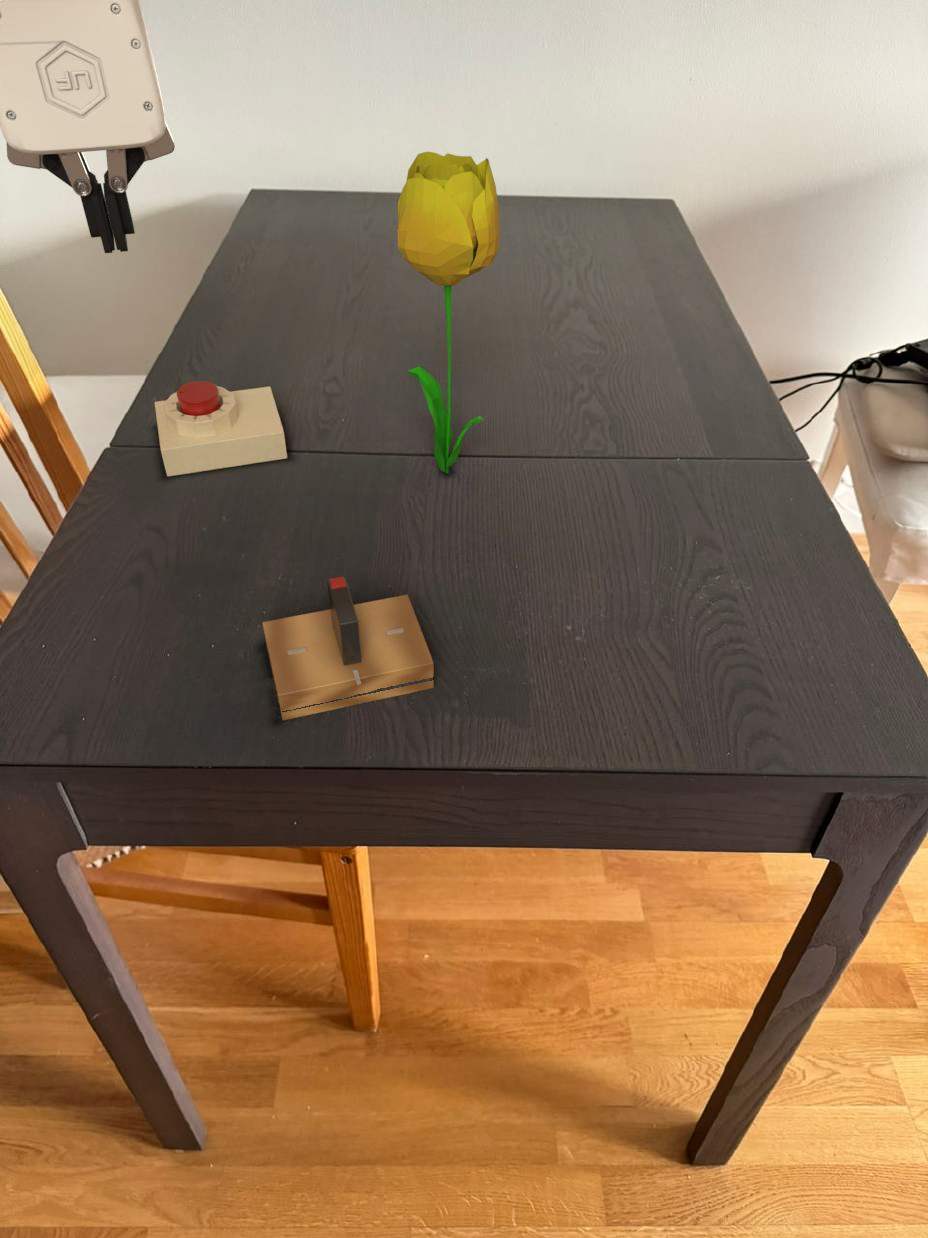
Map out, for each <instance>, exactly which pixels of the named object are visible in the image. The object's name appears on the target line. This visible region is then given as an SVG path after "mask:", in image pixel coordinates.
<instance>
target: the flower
mask: <svg viewBox="0 0 928 1238" xmlns="http://www.w3.org/2000/svg"><path fill="white" fill-rule="evenodd" d="M497 192H498V191H497V185H496V182H495V178H494V175H493V171H492V168H491V163H490V160H489V159H488V158H487V157H486V158H485V159H484V160H482V161H481V162H479V163H478V164H477V163H476V161H475V160H474V159H473V157H472V156H471V155H466V156H463V155H455V154H452V153H448V152H447V153H445V154H444V155H442V154H440V153H437V152H433V151H425V152H420V153H418V154H417V155H416V156H415V157H414V160H413V162H412V163H411V165H410V167H409V168H408V170H407V176H406V181H405V184H404V186H403V187H402V189H401V192H400V195H399V198H398V201H397V221H398V222H397V227H396V232H397V248H398V250H399V252H400V254H401V256H402V257H403V259H404V260H405V262H407V263H408V264H409V265H410V266H411V267H412V268H413V269H414V270H415V271H416V272H418V273H419V274H421V276H423V277H424V278H425V279H428V280H429V281H430V282H432V283H434V284H435V285H436V286H437V285H438V286H443V288H444V289H443V290H444V303H445V315H446V316H445V317H446V342H447V345H446V346H447V398H446V399H447V400H446V401H447V404H446V405H447V407H446V406H445V399H444V394H443V391H442V388H441V384H440V383H439V382H438V381H437V380H436V379H435V378H434V377H433V376H432V375H431V374H430V373H429V372H428V371H427V370H426V369H424V368H422V367H421V366H417V367H414V368H412V369H408V370H407V373H408V374H410V375H411V376H412V377H413V378H415V379H416V380H417V381H419V383H420V385H421V388H422V391H423V393H424V396H425V399H426V402H427V403H426V404H427V406H428V407H427V408H428V410H429V413H430V415H431V417H432V420H433V430H434V431H433V432H434V435H433V436H434V437H433V438H434V444H433V446H434V447H433V448H434V450H433V456H434V459H435V462H436V464H437V466H438V468H439V470H440V471H441V472H443V473H445V474H449V468H450V467H451V466H452V465H454V463H455V462H456V461H457V460H458V458H459V455H460V451H461V447H462V443H463V439H464V436H465V434H466V432H467V430H468V429H469V428H470V427H472V425H474V424H477V423H480V422H483V421H485V419H484V418H482V416H480V415H478V416H477V417H474V418H473V419H470V420H469V421H468V422H467V423H466V424H465V426H463V429H462V431H461V433H460V434H459V436H458V438H457V440H456V441H455V443H454V446H453V449H452V452H451V454H450V449H451V445H452V441H453V430H452V427H451V422H452V381H451V380H452V375H451V373H452V371H451V370H452V369H451V368H452V367H451V365H452V364H451V363H452V361H451V359H452V357H451V356H452V354H451V353H452V346H451V345H452V291H453V289H452V287H453V286H457V285H458V284H461V282H462V281H463V280H464V279H465V278H469V277H470V276H472V275H475V274H477V273H479V272H481V271H482V270H483V269H485V268H488V266H490V265H491V264H493V261H494V260H495V258H496V256H497V253H498V252H499V248H500V231H501V230H500V227H501V226H500V208H499V201H498V193H497ZM446 409H447V410H446Z"/></svg>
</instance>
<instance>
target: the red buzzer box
mask: <svg viewBox="0 0 928 1238" xmlns="http://www.w3.org/2000/svg"><path fill="white" fill-rule="evenodd" d="M216 386H217V388H218V392H219V397H220V403H221V407H220V409H219V410H217V411H215V412H213V413H210V414H208V415H202V416H191V415H184V414H183V413H182V412H181V411H180V407H179V402H178V398H177V391H175V392H173V393H171V394H170V395H169V397H168V398H167V399H166V400H159V401H154V410H155V418H156V425H157V433H158V439H159V448H160V453H161V458H162V461H163V465H164V469H165V473H166V477H173V476H174V477H175V476H180V475H181V476H182V475H186V474H187V475H188V474H193V473H201V472H207V471H214V470H221V469H226V468H233V467H240V466H246V465H253V464H258V463H266V462H273V461H278V460H279V461H280V460H284V459H285V460H286V459H288V452H287V445H286V437H285V432H284V427H283V424H282V421H281V418H280V414H279V411H278V408H277V404H276V401H275V397H274V394H273V391H272V387H271V386H269V385H268V386H264V387H263V386H261V387H256V388H247V389H239V390H233V391H232V390H231V391H229V390H227V388H224V387H223V386H219V385H216Z"/></svg>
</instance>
